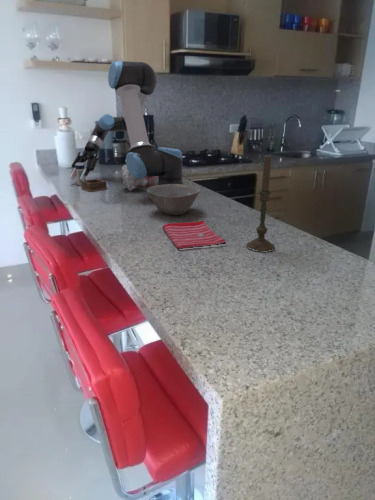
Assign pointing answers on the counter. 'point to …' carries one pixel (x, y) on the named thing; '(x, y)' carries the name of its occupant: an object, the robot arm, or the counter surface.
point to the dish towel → (192, 235)
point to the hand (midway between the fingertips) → (76, 179)
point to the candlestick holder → (263, 211)
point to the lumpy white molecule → (133, 179)
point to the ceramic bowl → (173, 197)
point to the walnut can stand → (93, 185)
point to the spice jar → (79, 172)
